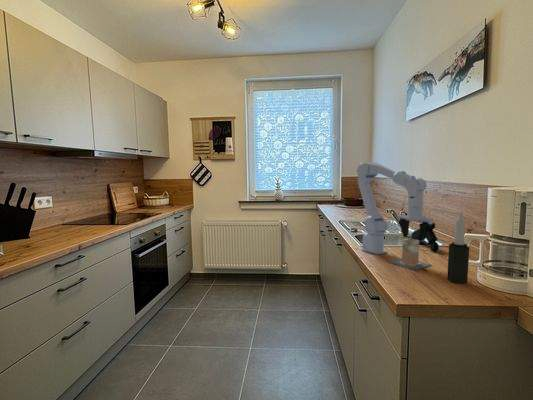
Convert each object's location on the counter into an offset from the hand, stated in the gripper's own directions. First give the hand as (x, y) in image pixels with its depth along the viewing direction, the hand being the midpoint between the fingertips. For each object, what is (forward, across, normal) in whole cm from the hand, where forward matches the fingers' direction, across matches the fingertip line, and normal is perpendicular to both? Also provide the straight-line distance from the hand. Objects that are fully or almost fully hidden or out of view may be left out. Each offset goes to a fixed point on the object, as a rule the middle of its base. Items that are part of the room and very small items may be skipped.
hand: (413, 238), depth 122 cm
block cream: (+5, -1, +4) cm, 6 cm away
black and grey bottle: (+11, -21, +8) cm, 25 cm away
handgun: (+11, +12, -30) cm, 34 cm away
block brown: (+10, -1, +4) cm, 11 cm away
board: (+10, -1, +4) cm, 11 cm away
